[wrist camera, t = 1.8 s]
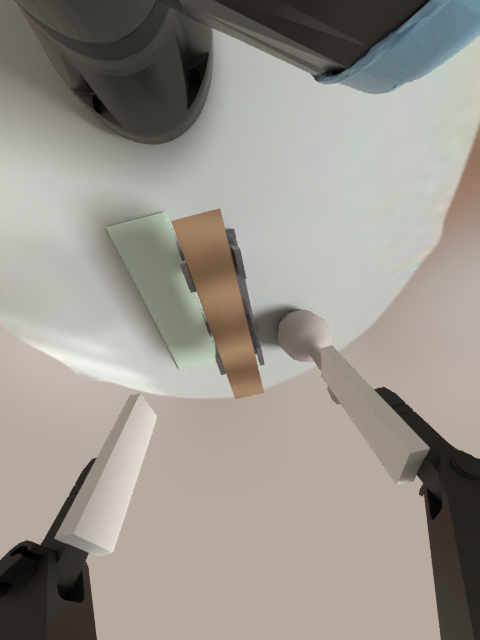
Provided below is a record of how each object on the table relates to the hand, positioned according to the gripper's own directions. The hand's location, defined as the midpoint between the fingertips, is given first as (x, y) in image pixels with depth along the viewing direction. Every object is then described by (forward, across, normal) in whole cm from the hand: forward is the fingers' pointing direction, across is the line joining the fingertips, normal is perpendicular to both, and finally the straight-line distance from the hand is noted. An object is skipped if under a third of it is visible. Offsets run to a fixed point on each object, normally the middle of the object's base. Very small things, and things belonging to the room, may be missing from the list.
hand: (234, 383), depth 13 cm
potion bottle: (+20, +11, -9) cm, 25 cm away
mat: (+20, -9, 0) cm, 21 cm away
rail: (+11, 0, 0) cm, 11 cm away
